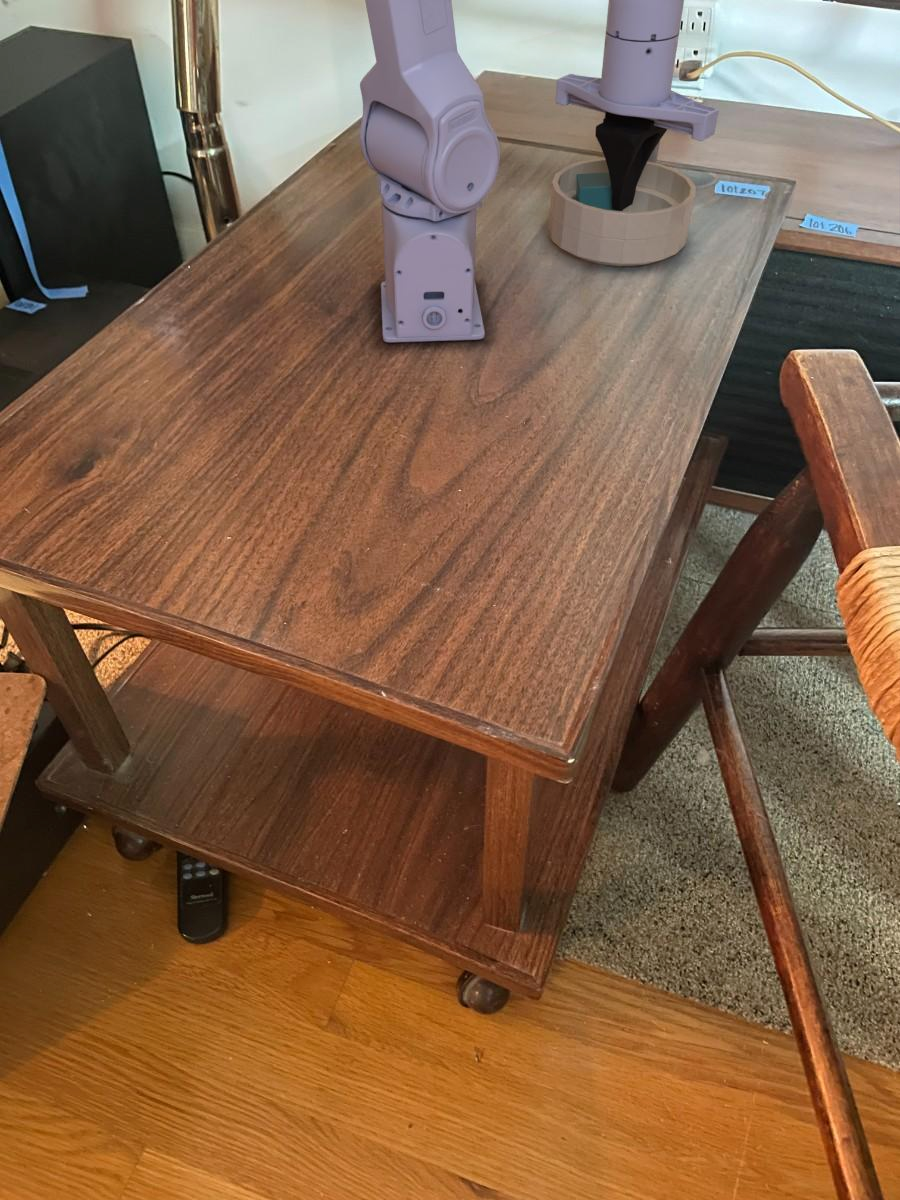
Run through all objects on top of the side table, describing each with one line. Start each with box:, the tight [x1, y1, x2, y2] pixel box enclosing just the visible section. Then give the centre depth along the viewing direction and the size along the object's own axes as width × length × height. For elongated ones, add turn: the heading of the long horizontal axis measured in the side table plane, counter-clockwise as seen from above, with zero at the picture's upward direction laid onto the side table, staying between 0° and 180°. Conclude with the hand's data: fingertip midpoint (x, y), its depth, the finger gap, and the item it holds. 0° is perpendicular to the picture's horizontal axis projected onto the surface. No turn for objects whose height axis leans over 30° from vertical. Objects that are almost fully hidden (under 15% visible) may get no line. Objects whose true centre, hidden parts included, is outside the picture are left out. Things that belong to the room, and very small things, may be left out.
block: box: [576, 172, 623, 211], centre depth 81 cm, size 4×4×4 cm
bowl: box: [547, 157, 697, 267], centre depth 81 cm, size 13×13×5 cm
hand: (621, 206), depth 80 cm, fingers closed, pressing on block
